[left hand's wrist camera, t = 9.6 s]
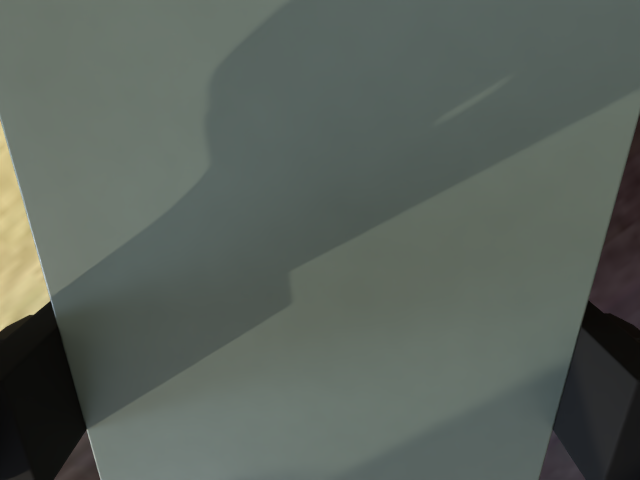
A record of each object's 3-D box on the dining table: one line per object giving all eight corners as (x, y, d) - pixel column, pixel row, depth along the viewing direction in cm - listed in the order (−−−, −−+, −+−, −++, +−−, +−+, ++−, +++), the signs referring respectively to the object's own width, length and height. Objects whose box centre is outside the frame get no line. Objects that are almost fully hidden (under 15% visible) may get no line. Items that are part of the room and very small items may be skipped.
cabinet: (139, -191, 12) (-239, -728, 4) (498, -191, 12) (876, -730, 4) (201, 308, 19) (106, 503, 10) (438, 307, 19) (533, 503, 10)
